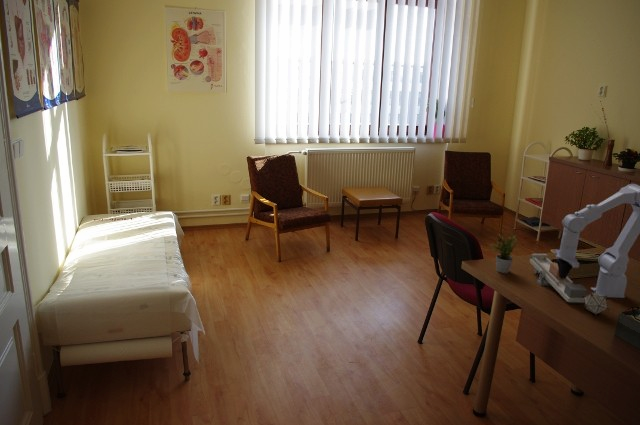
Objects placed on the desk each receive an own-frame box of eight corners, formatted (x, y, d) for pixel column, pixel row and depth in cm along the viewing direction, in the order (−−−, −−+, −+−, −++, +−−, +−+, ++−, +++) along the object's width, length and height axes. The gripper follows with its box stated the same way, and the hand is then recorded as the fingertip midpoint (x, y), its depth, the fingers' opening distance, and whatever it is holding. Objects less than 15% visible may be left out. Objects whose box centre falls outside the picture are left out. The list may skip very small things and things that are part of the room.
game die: (597, 323, 179) (621, 309, 173) (581, 317, 176) (604, 303, 170) (587, 302, 185) (609, 288, 179) (571, 297, 182) (593, 282, 176)
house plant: (493, 261, 225) (498, 226, 220) (524, 269, 216) (530, 234, 212) (480, 269, 214) (485, 233, 210) (511, 278, 206) (518, 241, 201)
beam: (586, 302, 184) (589, 290, 183) (566, 302, 184) (569, 290, 182) (545, 262, 215) (548, 251, 213) (528, 261, 215) (531, 251, 213)
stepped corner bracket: (589, 304, 185) (592, 292, 184) (561, 304, 184) (563, 291, 183) (549, 272, 215) (551, 261, 213) (525, 271, 214) (526, 260, 213)
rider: (563, 280, 197) (565, 270, 195) (555, 280, 196) (558, 269, 195) (555, 273, 202) (558, 263, 201) (548, 273, 202) (550, 262, 200)
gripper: (549, 238, 197) (543, 270, 201) (568, 251, 183) (562, 285, 187) (566, 239, 198) (560, 270, 201) (587, 252, 184) (580, 285, 188)
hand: (562, 277), depth 194 cm, fingers closed
